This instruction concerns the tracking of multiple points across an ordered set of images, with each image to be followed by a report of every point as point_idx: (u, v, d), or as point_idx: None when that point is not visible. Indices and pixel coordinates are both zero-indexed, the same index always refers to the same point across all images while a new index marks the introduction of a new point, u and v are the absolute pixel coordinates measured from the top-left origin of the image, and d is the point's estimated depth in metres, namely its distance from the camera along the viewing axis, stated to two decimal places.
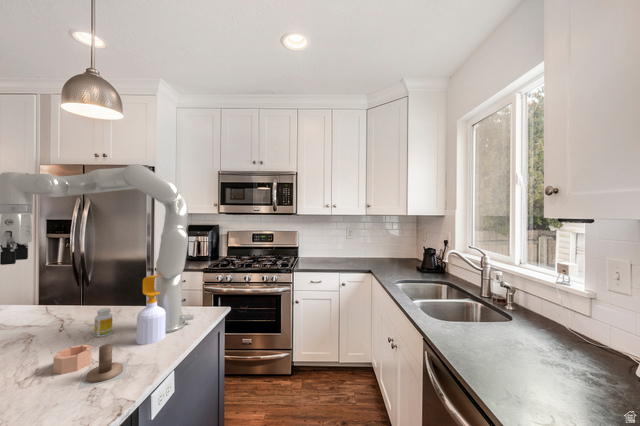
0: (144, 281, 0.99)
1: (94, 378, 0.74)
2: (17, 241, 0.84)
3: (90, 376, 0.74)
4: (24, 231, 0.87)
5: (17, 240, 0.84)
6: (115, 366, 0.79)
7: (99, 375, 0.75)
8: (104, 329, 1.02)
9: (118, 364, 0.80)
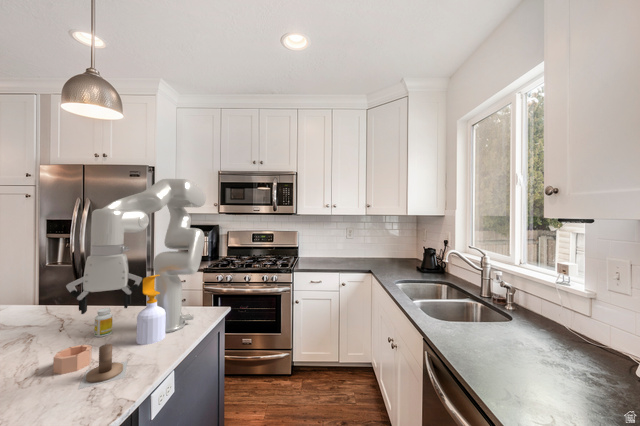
0: (144, 281, 0.99)
1: (94, 378, 0.74)
2: None
3: (90, 376, 0.74)
4: None
5: None
6: (115, 366, 0.79)
7: (99, 375, 0.75)
8: (104, 329, 1.02)
9: (118, 364, 0.80)
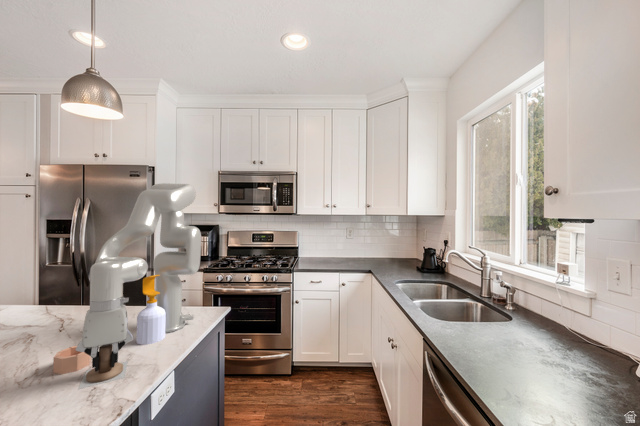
0: (144, 281, 0.99)
1: (94, 378, 0.74)
2: None
3: (90, 376, 0.74)
4: None
5: None
6: (115, 366, 0.79)
7: (99, 375, 0.75)
8: None
9: (118, 364, 0.80)
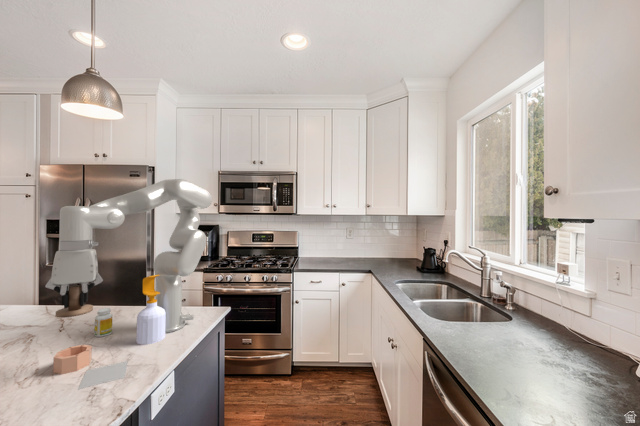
0: (144, 281, 0.99)
1: (63, 313, 0.77)
2: None
3: (59, 312, 0.78)
4: None
5: None
6: (85, 306, 0.83)
7: (68, 312, 0.79)
8: (104, 329, 1.02)
9: (88, 305, 0.84)
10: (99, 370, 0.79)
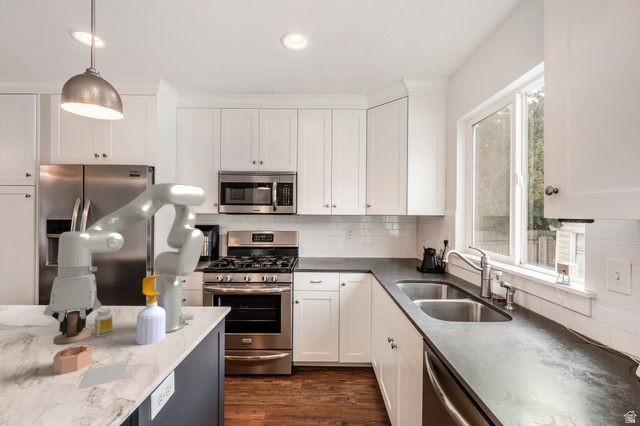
0: (144, 281, 0.99)
1: (60, 340, 0.77)
2: None
3: (57, 339, 0.78)
4: None
5: None
6: (83, 332, 0.83)
7: (66, 338, 0.79)
8: (104, 329, 1.02)
9: (86, 330, 0.84)
10: (99, 370, 0.79)
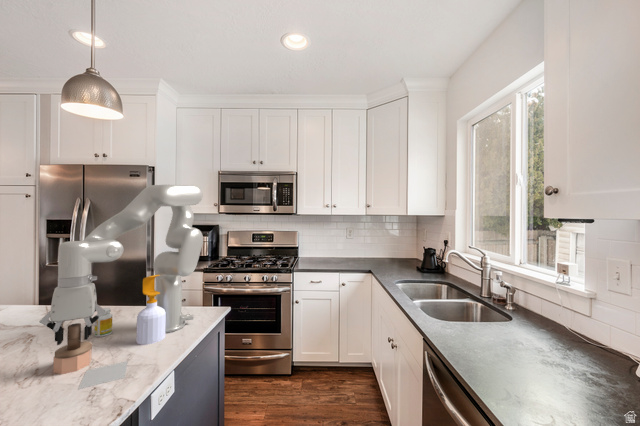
0: (144, 281, 0.99)
1: (62, 354, 0.77)
2: None
3: (58, 353, 0.78)
4: None
5: None
6: (84, 344, 0.83)
7: (67, 352, 0.79)
8: (104, 329, 1.02)
9: (87, 343, 0.84)
10: (99, 370, 0.79)
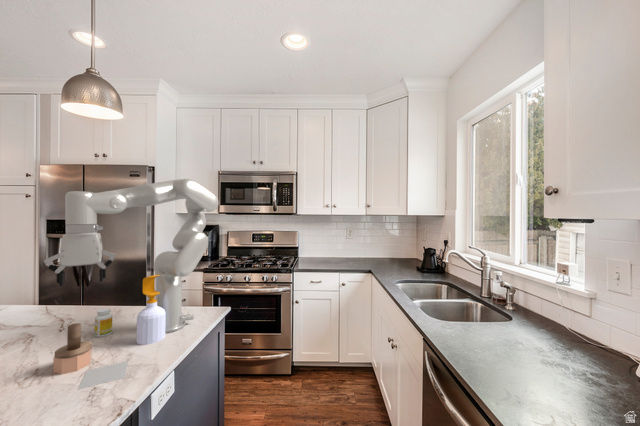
0: (144, 281, 0.99)
1: (62, 354, 0.77)
2: (102, 258, 0.90)
3: (58, 353, 0.78)
4: None
5: (102, 257, 0.90)
6: (84, 344, 0.83)
7: (67, 352, 0.79)
8: (104, 329, 1.02)
9: (87, 343, 0.84)
10: (99, 370, 0.79)
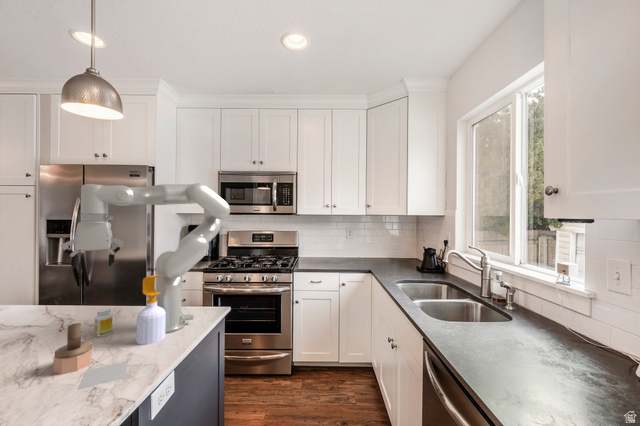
0: (144, 281, 0.99)
1: (62, 354, 0.77)
2: None
3: (58, 353, 0.78)
4: None
5: None
6: (84, 344, 0.83)
7: (67, 352, 0.79)
8: (104, 329, 1.02)
9: (87, 343, 0.84)
10: (99, 370, 0.79)
